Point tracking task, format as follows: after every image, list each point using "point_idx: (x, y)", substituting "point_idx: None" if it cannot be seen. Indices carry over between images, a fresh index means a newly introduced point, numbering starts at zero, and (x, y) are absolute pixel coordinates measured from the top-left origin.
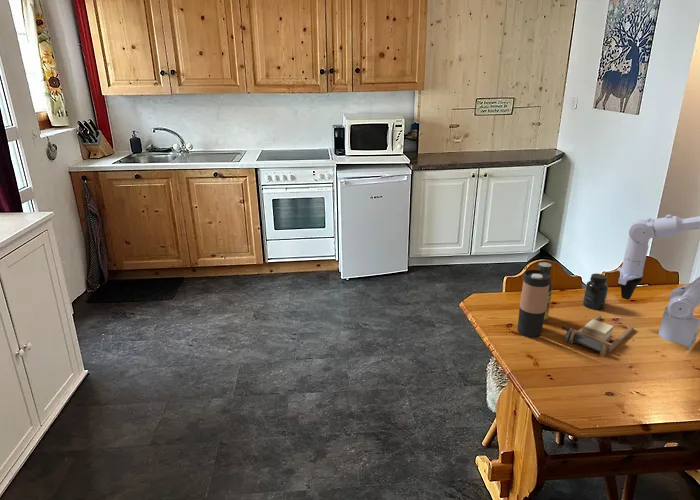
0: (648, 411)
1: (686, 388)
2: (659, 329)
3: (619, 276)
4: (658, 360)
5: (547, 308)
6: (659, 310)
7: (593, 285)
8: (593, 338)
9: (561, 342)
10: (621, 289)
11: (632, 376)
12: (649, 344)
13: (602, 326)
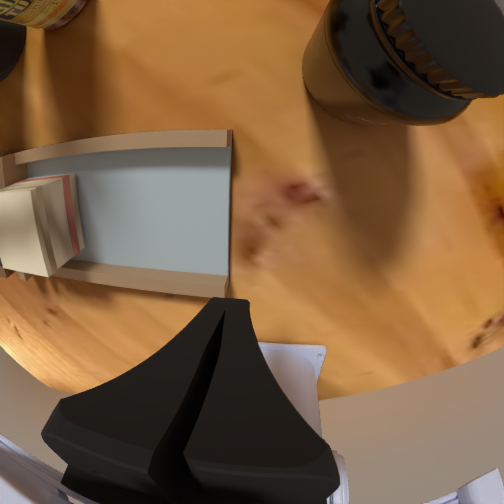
0: (7, 342)
1: None
2: (270, 363)
3: (78, 449)
4: (126, 358)
5: (12, 20)
6: (464, 301)
7: (352, 8)
8: None
9: (7, 138)
10: (171, 342)
11: (34, 318)
12: None
13: (19, 245)
